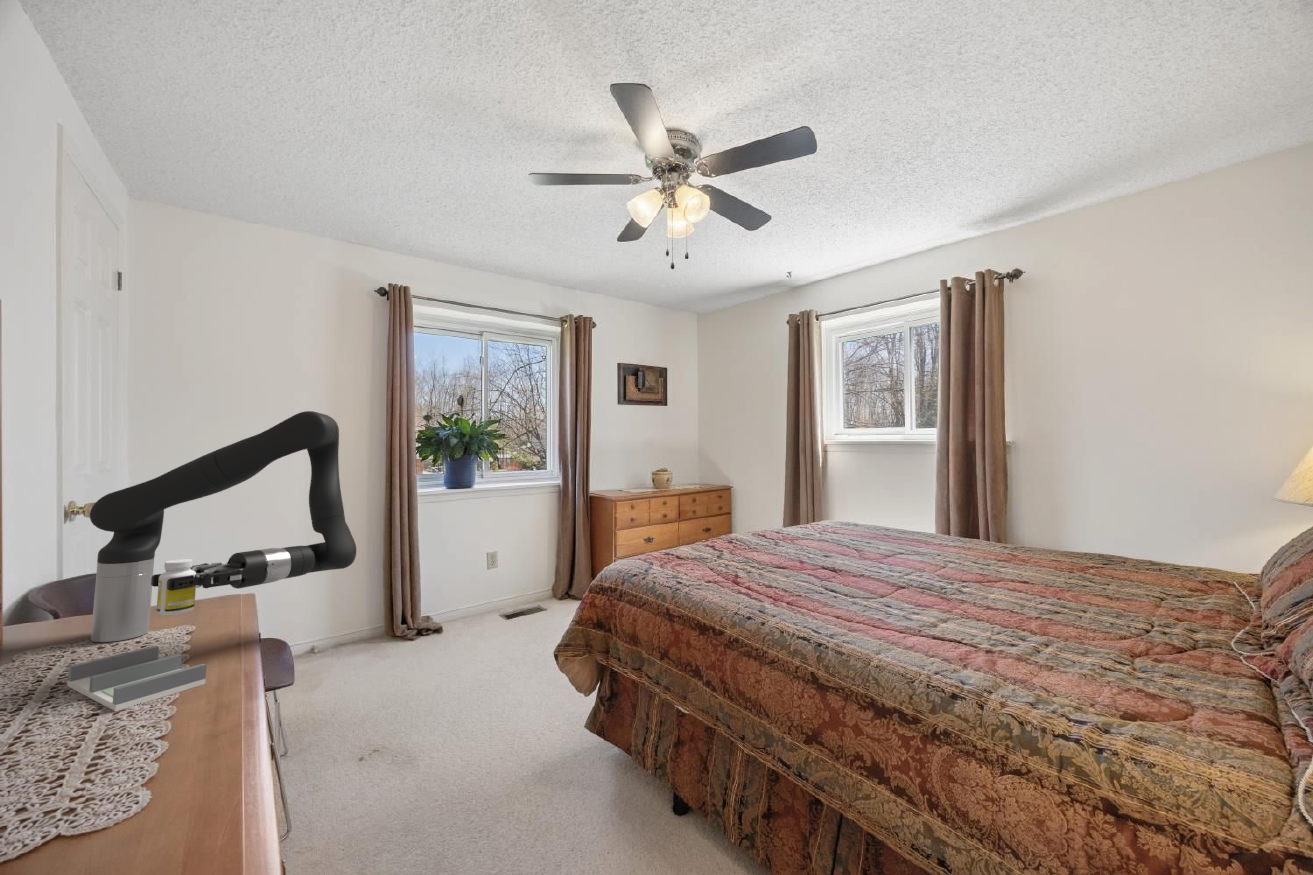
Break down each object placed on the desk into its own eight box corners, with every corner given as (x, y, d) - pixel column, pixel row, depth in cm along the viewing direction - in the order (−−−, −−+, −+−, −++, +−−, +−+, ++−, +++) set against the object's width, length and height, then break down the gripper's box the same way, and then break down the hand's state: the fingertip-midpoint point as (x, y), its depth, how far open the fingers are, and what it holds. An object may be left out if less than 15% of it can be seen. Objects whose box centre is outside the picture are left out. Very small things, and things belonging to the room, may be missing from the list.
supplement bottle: (202, 608, 102) (205, 558, 102) (174, 616, 96) (177, 564, 97) (176, 607, 102) (180, 557, 103) (147, 615, 97) (151, 562, 97)
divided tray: (67, 685, 92) (68, 665, 92) (154, 663, 103) (156, 645, 103) (115, 711, 84) (117, 689, 84) (205, 683, 95) (206, 664, 95)
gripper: (242, 546, 116) (142, 559, 100) (280, 553, 110) (181, 567, 94) (240, 580, 115) (140, 597, 100) (278, 588, 109) (178, 608, 94)
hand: (160, 582), depth 97 cm, fingers closed on supplement bottle, 5 cm apart
